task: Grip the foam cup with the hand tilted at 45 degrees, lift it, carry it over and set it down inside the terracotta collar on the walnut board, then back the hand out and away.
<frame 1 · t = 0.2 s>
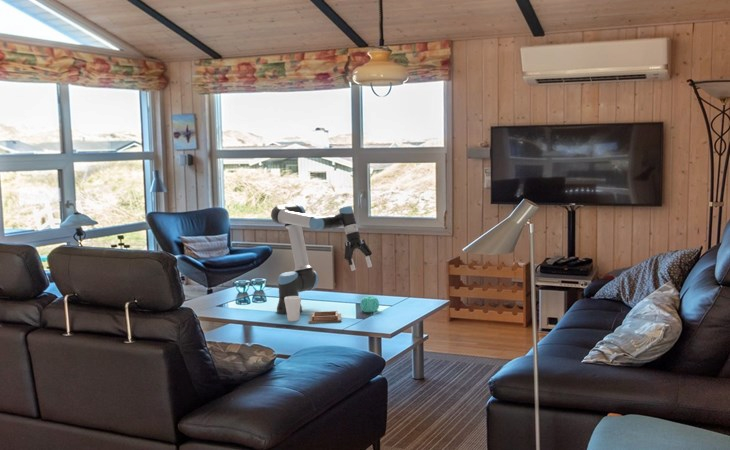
hand: (362, 268, 423), 28 cm above the table, tool tilted 20°, fingers open, 13 cm apart
green textured ball: (369, 311, 442), on the table
foam cup: (293, 320, 424), on the table
dock board: (325, 319, 423), on the table
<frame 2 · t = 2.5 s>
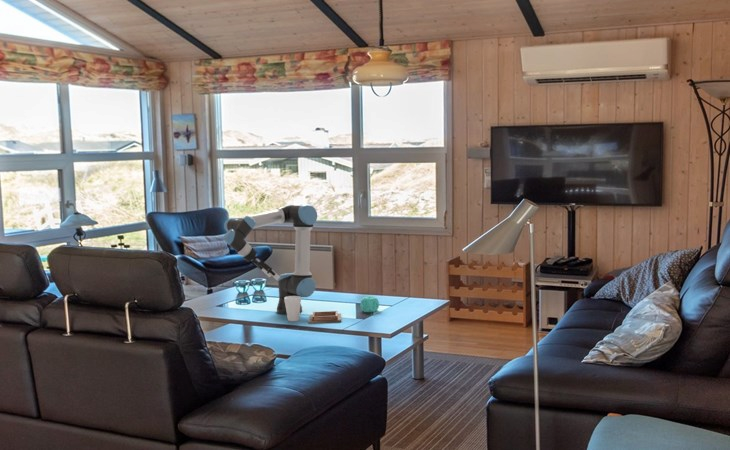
hand: (274, 277, 418), 26 cm above the table, tool tilted 45°, fingers open, 13 cm apart
nothing on the table moved.
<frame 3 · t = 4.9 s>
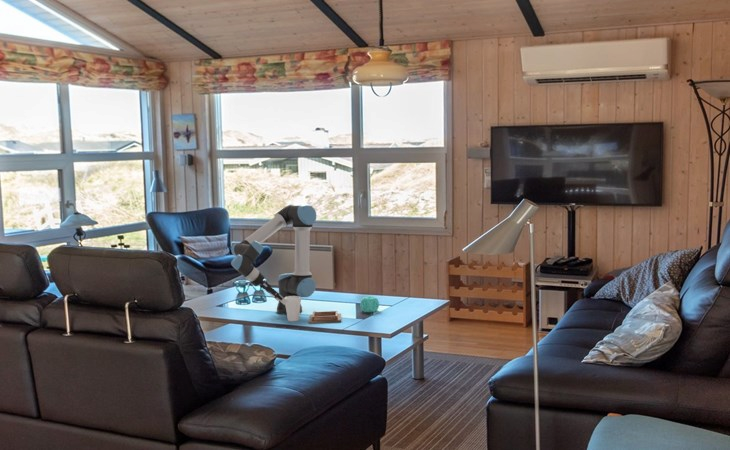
hand: (282, 301, 420), 12 cm above the table, tool tilted 45°, fingers open, 13 cm apart
nothing on the table moved.
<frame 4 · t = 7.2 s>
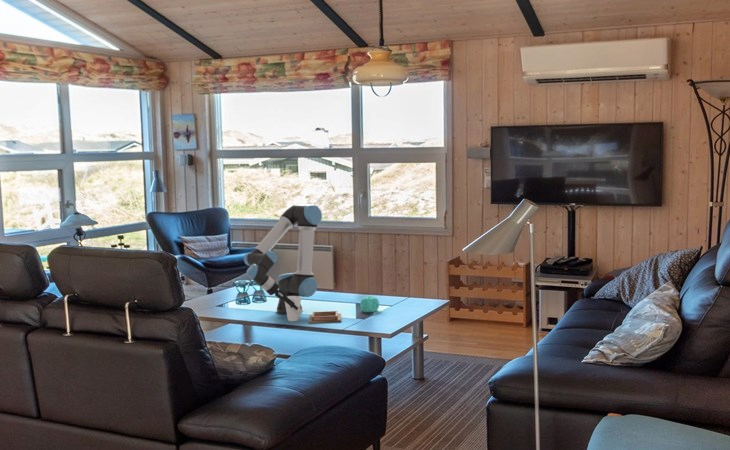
hand: (298, 311, 425), 5 cm above the table, tool tilted 45°, fingers closed on foam cup, 9 cm apart
foam cup: (293, 320, 424), on the table, touching gripper
everything else where it was.
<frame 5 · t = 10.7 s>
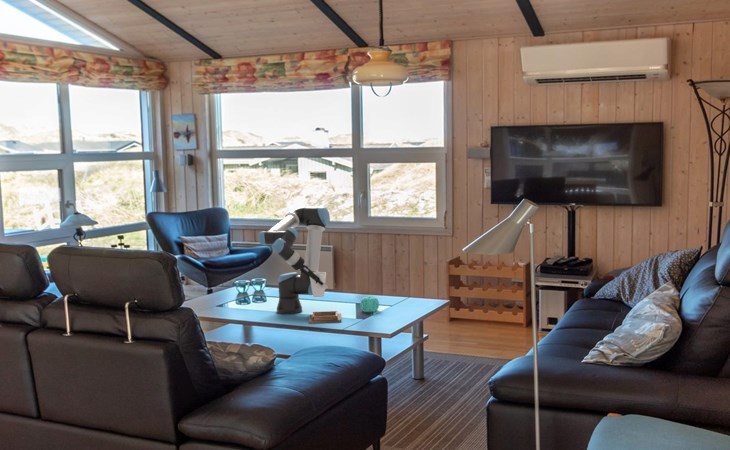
hand: (323, 286, 421), 19 cm above the table, tool tilted 45°, fingers closed on foam cup, 9 cm apart
foam cup: (318, 296, 420), point 14 cm above the table, touching gripper
everything else where it was.
when the fingers open (7 cm above the table, at t = 14.3 s): foam cup drops 1 cm, resting on dock board.
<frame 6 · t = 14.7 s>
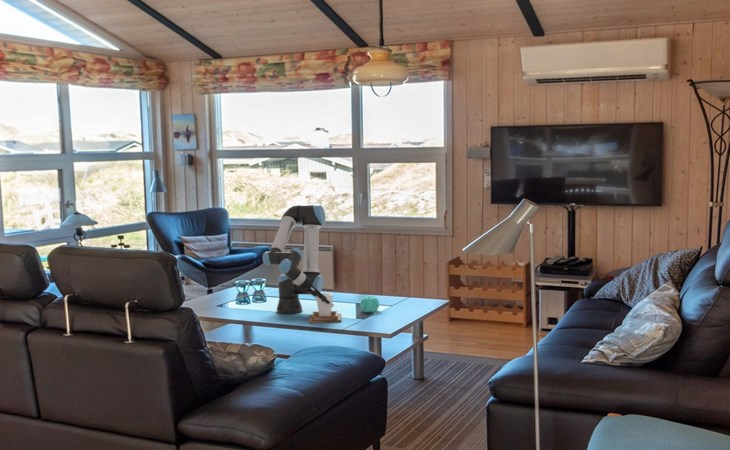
hand: (328, 304, 423), 8 cm above the table, tool tilted 45°, fingers open, 13 cm apart
foam cup: (324, 317, 423), point 1 cm above the table, touching dock board
everything else where it was.
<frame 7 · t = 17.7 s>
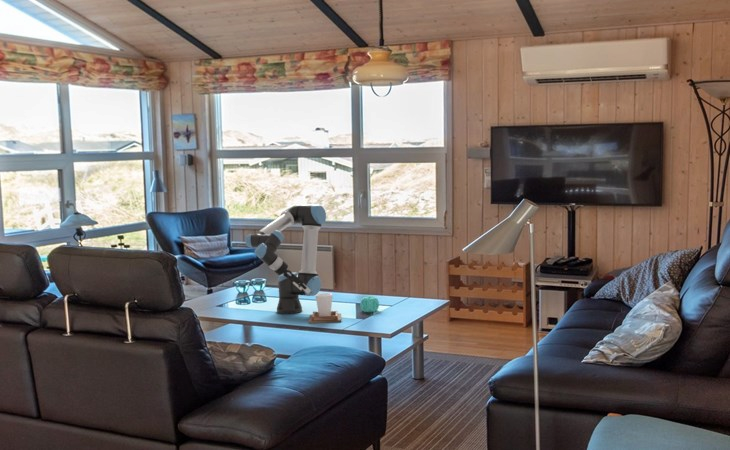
hand: (305, 290, 417), 18 cm above the table, tool tilted 45°, fingers open, 13 cm apart
nothing on the table moved.
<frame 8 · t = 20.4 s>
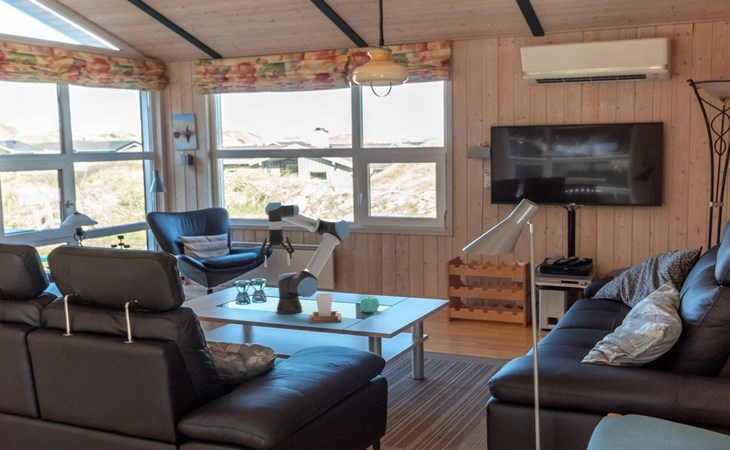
hand: (277, 266, 424), 31 cm above the table, tool pointing down, fingers open, 13 cm apart
nothing on the table moved.
at the end: foam cup 0.1 cm off-centre on the dock board, point 1.0 cm above the dock board's base; foam cup tilted 0°; the gripper is holding nothing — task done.
